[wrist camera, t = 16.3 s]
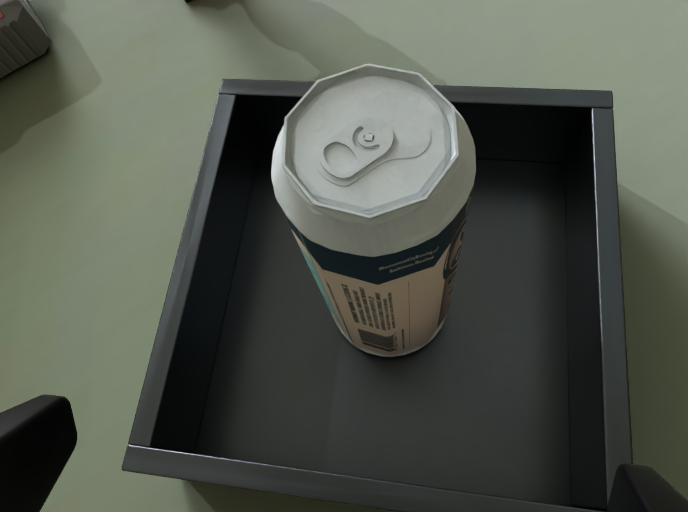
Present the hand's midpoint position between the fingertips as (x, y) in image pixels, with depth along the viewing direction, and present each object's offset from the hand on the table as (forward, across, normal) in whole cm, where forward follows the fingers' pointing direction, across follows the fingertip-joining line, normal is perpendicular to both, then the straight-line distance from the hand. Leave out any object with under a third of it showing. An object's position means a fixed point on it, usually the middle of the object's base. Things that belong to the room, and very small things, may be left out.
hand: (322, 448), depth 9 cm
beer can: (+14, 0, +4) cm, 15 cm away
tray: (+14, 0, +5) cm, 15 cm away
